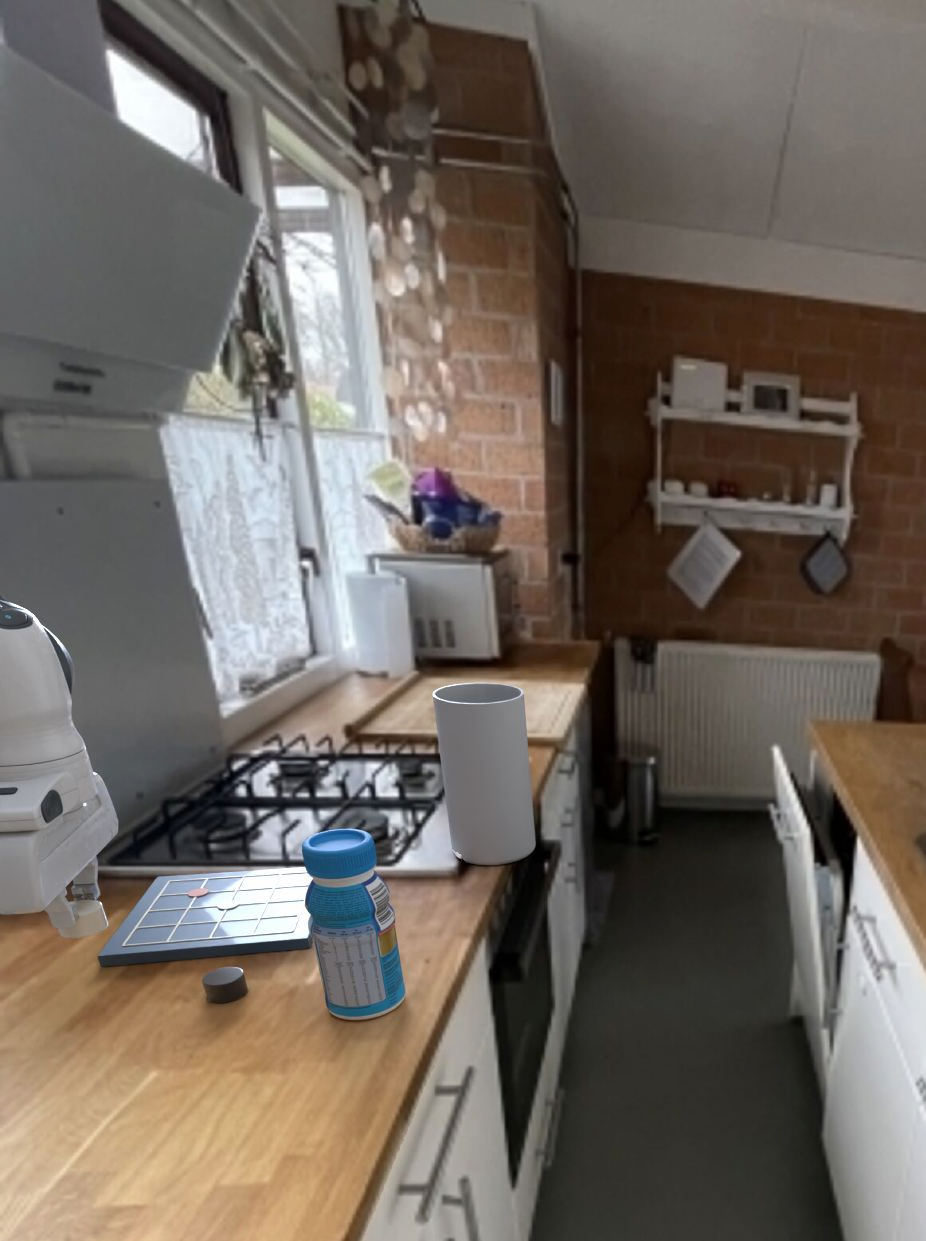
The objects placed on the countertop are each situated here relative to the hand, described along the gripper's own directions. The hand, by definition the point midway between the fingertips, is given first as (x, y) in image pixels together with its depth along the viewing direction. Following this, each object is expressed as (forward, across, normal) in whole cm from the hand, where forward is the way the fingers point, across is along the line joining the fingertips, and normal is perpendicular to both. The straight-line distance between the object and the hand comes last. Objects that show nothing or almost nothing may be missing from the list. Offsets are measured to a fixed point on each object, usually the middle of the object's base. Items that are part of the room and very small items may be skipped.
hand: (78, 912), depth 88 cm
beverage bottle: (+13, +2, +25) cm, 28 cm away
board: (+13, -23, +6) cm, 27 cm away
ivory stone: (+2, 0, 0) cm, 2 cm away
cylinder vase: (+13, -39, +39) cm, 57 cm away
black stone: (+13, -3, +10) cm, 17 cm away
